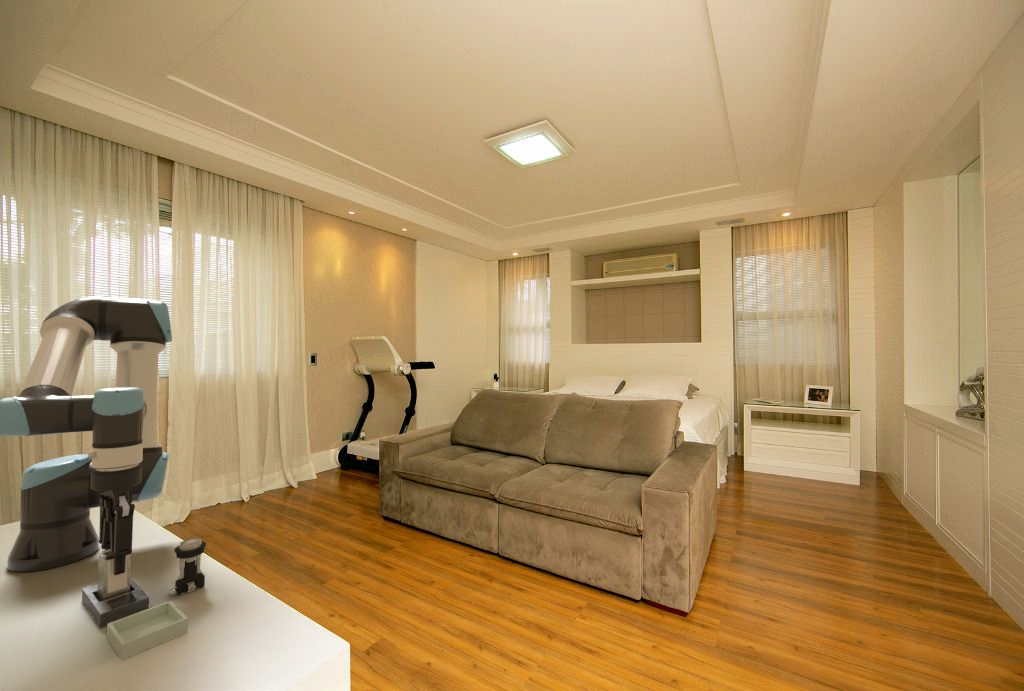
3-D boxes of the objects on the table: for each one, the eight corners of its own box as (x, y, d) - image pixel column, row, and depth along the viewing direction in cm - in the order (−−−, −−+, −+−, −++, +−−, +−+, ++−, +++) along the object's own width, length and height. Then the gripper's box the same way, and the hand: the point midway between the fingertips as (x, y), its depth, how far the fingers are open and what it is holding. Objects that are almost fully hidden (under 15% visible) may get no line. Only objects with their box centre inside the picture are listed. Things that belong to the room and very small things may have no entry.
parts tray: (106, 638, 77) (107, 623, 77) (169, 613, 84) (170, 600, 84) (121, 660, 71) (122, 644, 71) (187, 632, 79) (187, 618, 79)
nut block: (97, 605, 86) (98, 553, 86) (123, 596, 90) (125, 546, 90) (102, 612, 84) (103, 559, 84) (129, 603, 87) (130, 552, 87)
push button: (169, 602, 88) (170, 551, 88) (162, 592, 91) (163, 544, 91) (208, 588, 93) (209, 541, 93) (200, 580, 96) (201, 534, 96)
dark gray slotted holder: (81, 601, 88) (82, 588, 88) (127, 586, 93) (127, 574, 93) (100, 628, 79) (100, 613, 79) (148, 610, 85) (149, 596, 85)
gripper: (81, 463, 89) (77, 579, 89) (103, 478, 79) (99, 610, 79) (128, 456, 95) (125, 565, 95) (155, 469, 85) (152, 591, 85)
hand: (114, 585), depth 87 cm, fingers closed on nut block, 4 cm apart
